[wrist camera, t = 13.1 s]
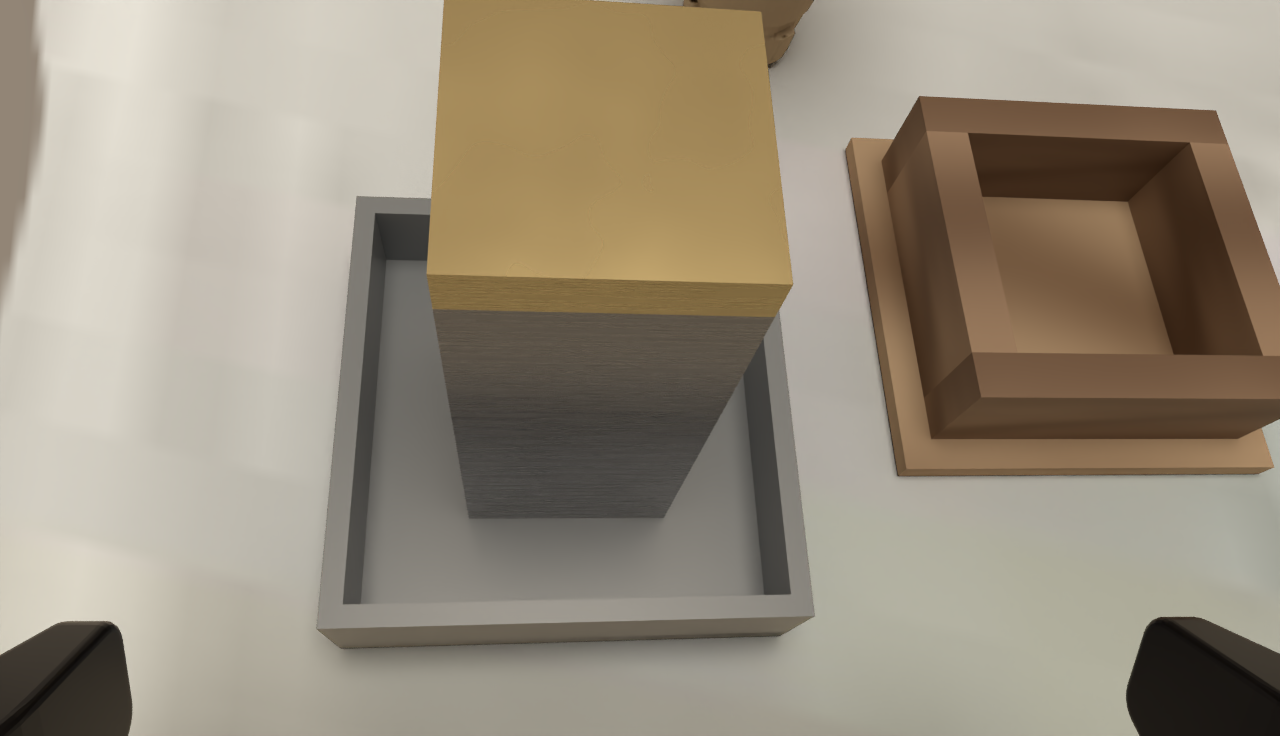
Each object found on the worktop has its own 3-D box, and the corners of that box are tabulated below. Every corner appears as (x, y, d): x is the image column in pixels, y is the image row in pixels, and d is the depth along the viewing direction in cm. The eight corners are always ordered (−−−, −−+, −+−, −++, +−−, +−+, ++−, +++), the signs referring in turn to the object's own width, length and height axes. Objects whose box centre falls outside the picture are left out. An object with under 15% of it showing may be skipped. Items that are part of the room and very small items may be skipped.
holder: (1258, 473, 22) (1362, 430, 20) (898, 475, 21) (954, 429, 18) (1158, 162, 26) (1233, 89, 23) (845, 149, 25) (885, 71, 22)
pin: (664, 517, 19) (793, 284, 10) (468, 518, 19) (426, 273, 10) (655, 344, 21) (761, 11, 12) (476, 340, 21) (444, -10, 12)
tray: (779, 635, 19) (814, 616, 17) (341, 648, 18) (316, 628, 16) (742, 266, 23) (767, 209, 21) (373, 257, 22) (357, 196, 20)
